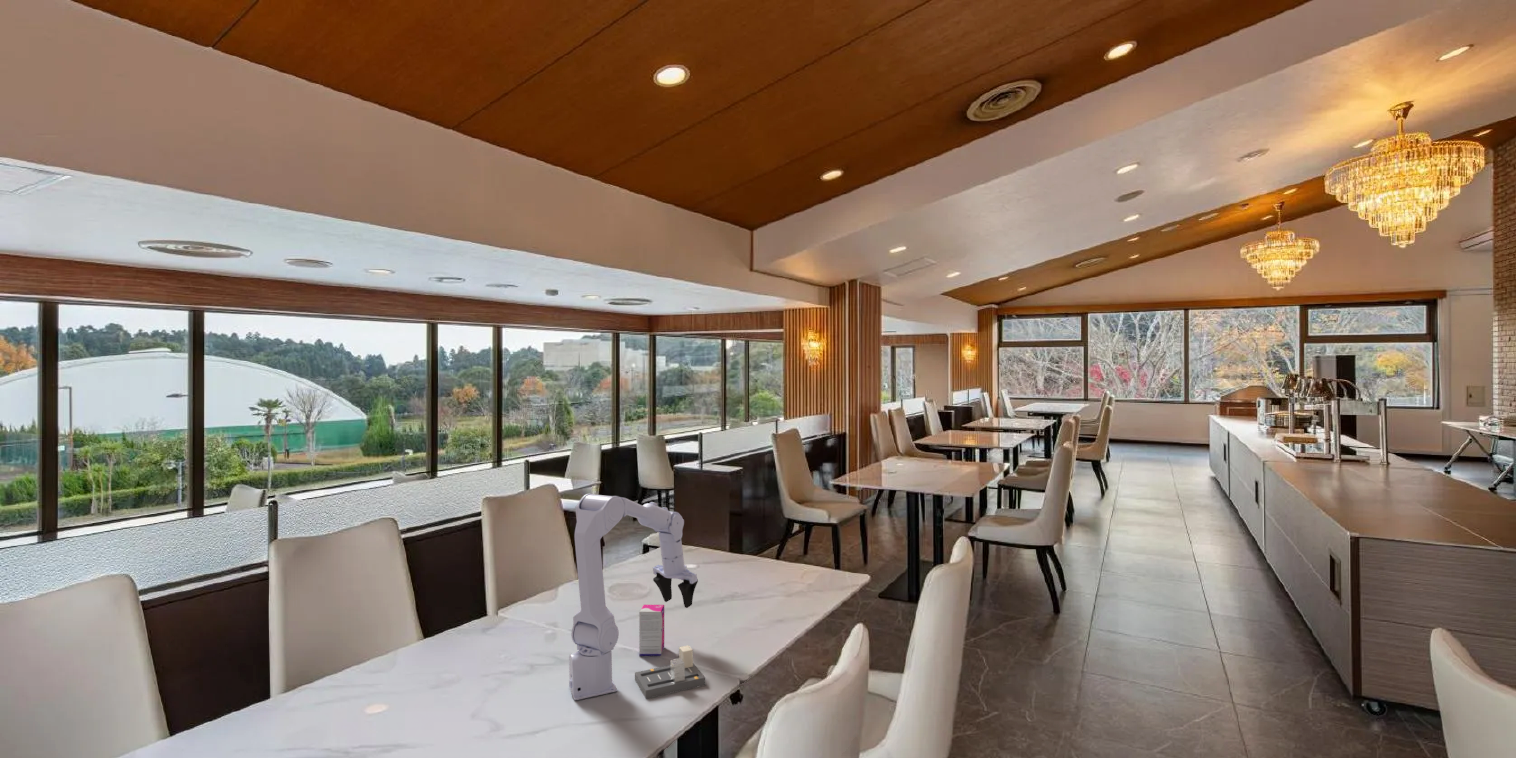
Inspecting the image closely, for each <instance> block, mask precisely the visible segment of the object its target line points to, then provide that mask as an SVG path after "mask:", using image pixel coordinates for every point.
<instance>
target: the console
mask: <svg viewBox="0 0 1516 758" xmlns="http://www.w3.org/2000/svg"><path fill="white" fill-rule="evenodd" d="M684 669H685V681H680V682H676V683H674V681H673V680H672V678H671V666H670V664H669V665H664V666H660V667H655V668H650V669H646V670H642V671H641V670H640V671H636V672H635V671H634V681H635V683H636V684H637V686H638V688H639V689H640V691H641V693H642V694H643V696H644V698H645V700H646V699H647V700H648V699H650V698H651V699H652V698H656V697H659V696H664V695H668V694H672V693H677V692H682V691H686V690H691V689H696V688H699V687H703V686H704V687H705V686H706V685H707V684H706V676H705V675H704V673H702V672H701V670H700V669H699V668H698V667H697V665H696V664H695V663H694V662H693V667H689V668H684Z"/></svg>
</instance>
